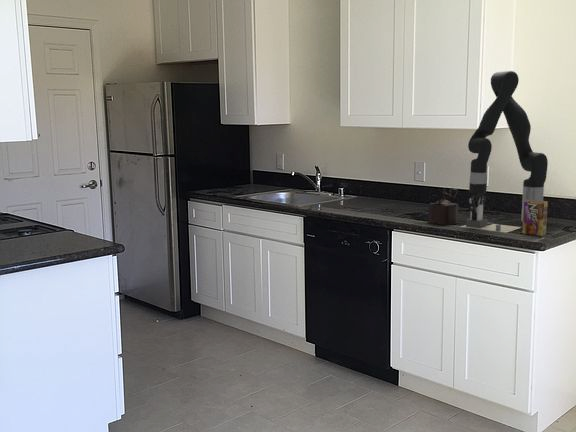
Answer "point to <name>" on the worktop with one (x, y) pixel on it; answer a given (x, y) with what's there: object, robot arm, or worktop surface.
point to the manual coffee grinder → (444, 210)
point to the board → (488, 226)
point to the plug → (478, 213)
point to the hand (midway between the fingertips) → (476, 219)
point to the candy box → (535, 217)
